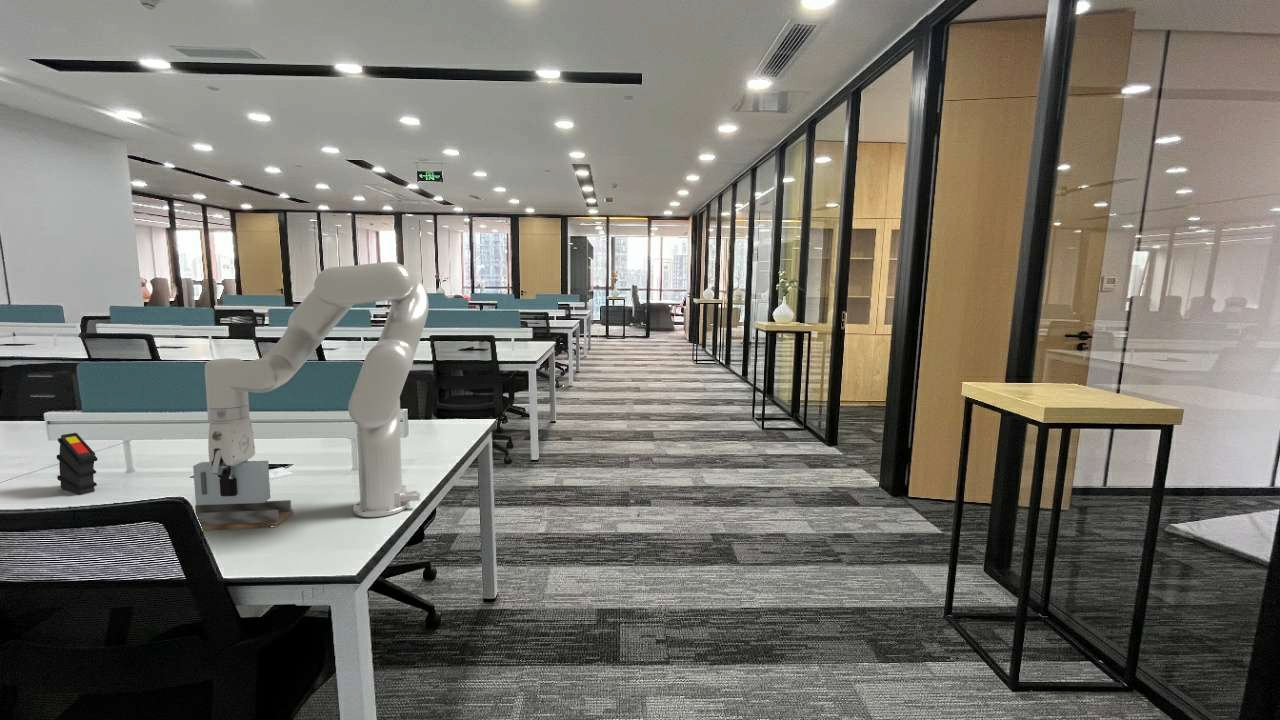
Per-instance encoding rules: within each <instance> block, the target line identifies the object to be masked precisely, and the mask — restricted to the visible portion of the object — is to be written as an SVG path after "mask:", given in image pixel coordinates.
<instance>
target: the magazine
mask: <svg viewBox="0 0 1280 720" xmlns="http://www.w3.org/2000/svg"><path fill="white" fill-rule="evenodd" d="M57 442H58V443H59V454H56V459H57V460H58V461H59V463H58V464H59V467H58V468H59V475H57V476H56V479H57V481H59V482H60V488H61V489H62V490H65V491H67V492H71V493H73V494H76V495H84V494H89V493H93V492H95V487H97V486H98V484H97V483H96V482H95V481H94V477H95V476H94V474H97V470H95V468H94V467H95V465H94V464H95V462H97V461H98V457H97V455H96V453H95V452H94V450H92V448H91V447H90V446H89V445H88V444H87V442H86V441H85V440H84V439H83V438H82V436H81V435H79V434H78V433H77V432H73V433H72V432H70V433H66V434H61V435H60V437H59V438H57Z"/></svg>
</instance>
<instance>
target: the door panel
mask: <svg viewBox="0 0 1280 720" xmlns="http://www.w3.org/2000/svg"><path fill="white" fill-rule="evenodd" d="M223 465H226V464H225V463H223ZM192 469H193V485H194V496H195V497H194V499H195V505H212V504H244V503H264V502H266V501H270V499H271V484H270V483H271V482H270V481H269V470H270V468H269V460H248V461H245V462H243V463H241V464H239V465H237V466H235V467H234V478H236V480H237V495H236V496H221V495H220V480H218V476H217V475H216V474H212V466H211V465H210V462H209V461H201V462H198V463H196V464H194V465H193V466H192ZM223 469H224V470H227V471H228V472H229V468H223Z"/></svg>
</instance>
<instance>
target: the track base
mask: <svg viewBox="0 0 1280 720" xmlns="http://www.w3.org/2000/svg"><path fill="white" fill-rule="evenodd" d="M194 507H195V513H196V515H197V517H198V520H199V522H200V524H201V527H202V529H203V531H220V530H219V529H225V530H243V529H244V530H245V528H247V529H259V528H258V527H268V528H272V527H271V526H274V527H273V528H276V527H275V526H277V525H278V526H279V525H281V524H282V523H283V522H284V521H285V520H287V519H288V518H289V517H291V516H292V515H293V514H292V513H294V512H293V509H292V500H291V499H285V500H284V499H283V500H267V501H266V502H264V503H244V504H212V505H196V504H195V505H194ZM287 517H288V518H287ZM282 521H283V522H282ZM281 522H282V523H281ZM278 526H277V527H278ZM210 529H211V530H210Z"/></svg>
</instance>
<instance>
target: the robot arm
mask: <svg viewBox="0 0 1280 720" xmlns="http://www.w3.org/2000/svg"><path fill="white" fill-rule="evenodd" d="M384 301H385V302H386V301H387V302H388V301H390V308H389V309H390V310H389V312H388V315H387V317H386V318H385V319H386V320H385V323H384V326H383V329H382V331H381V334H380V336H379V339H378V341H377V343H376V344H375V345H373V347H372V348H370V350H369V351H368V352H367V354H366V355H365V358H364V361H363V363H362V367H360V368H361V369H360V371H359V374H358V377H357V380H356V382H355V385H354V388H353V390H352V393H351V395H350V399H349V402H348V407H347V408H348V414H349V417H350V418H351V420H352V421H353V422H354V424H356V442H357V443H356V447H357V464H358V465H357V467H358V484H359V485H358V487H359V488H358V489H359V501H357V502H356V503H355V504H354V505H353V507H352V511H353V513H354V514H355V515H356V516H358V517H363V518H380V517H386V516H390V515H395V514H398V513H400V512H403V511H404V510H406V509H407V508H408V507H409V506H410V502H420V501H421V493H420V492H419V491H418V490H411V491H409V490H408V489H407V485H403V474H402V450H401V444H402V443H401V399H400V398H401V397H400V396H401V395H402V392H403V389H404V386H405V383H406V381H407V378H408V375H409V373H410V371H411V370H412V367H413V363H414V358H415V355H416V352H417V348H418V346H419V343H420V340H421V337H422V334H423V331H424V328H425V325H426V322H427V320H428V315H429V308H430V307H429V306H430V305H429V297H428V293H427V289H426V288H425V286H424V284H423V281H421V280H420V279H419V277H418V276H417V275H416V274H415V273H414V272H413V270H411V269H410V268H408V267H407V266H406V265H404V264H401V263H398V262H394V261H383V262H376V263H364V264H357V265H345V266H332V267H328V268H324V269H323V270H321V272H319V273H318V274H317V276H316V277H315V280H314V282H313V289H312V290H311V291H310V292H309V293H308V295H306V297H305V298H304V299H302V301H301V302H300V304H299V305H298V306H296V307H295V309H294V310H293V311H292V312H291V314H290V315H289V317H288V319H287V321H288V323H287V326H286V327H287V328H286V330H285V331H284V333H283V335H282V336H281V337H280V339H278V341H277V343H275V345H274V346H273V347H272V348H270V350H269V351H268V352H267V353H266V354H265V355H264V356H262V357H259V358H256V359H252V360H244V359H240V358H227V357H226V358H217V359H211V360H208V361H206V363H205V365H204V379H205V380H204V382H205V390H206V391H205V392H206V393H205V395H206V407H207V409H206V410H207V411H206V412H207V423H209V427H208V441H207V443H208V446H207V447H208V448H207V449H208V462H210V465H211V466H212V474H216V475H217V476H218V480H220V495H221V496H236V495H237V480H236V478H234V467H235V466H237V465H239V464H241V463H243V462H245V461H249V460H250V459H251V458H253V457H254V456H255V454H256V448H255V447H256V446H255V437H254V431H253V425H252V422H251V418H250V403H249V393H256V394H257V393H258V394H259V393H261V394H262V393H268V392H271V391H274V390H276V389H277V388H279V387H281V386H283V385H285V384H286V383H287V382H288V381H290V379H291V380H292V378H293V376H294V375H295V374H296V373H297V372H298V371H299V370H300V369H301V368H302V366H304V364H305V363H306V361H308V359H309V358H310V357H311V356H312V355H313V353H314V352H315V351H316V349H317V348H318V347H319V346H320V345H321V344H322V343H323V341H324V339H325V338H326V337H327V336H328V335H329V334H330V333H331V331H332V330H333V329H334V328H335V327H336V326H337V324H338V323H339V322H340V321H342V319H343V318H344V316H345V315H346V314H347V313H348V312H349V310H351V308H352V307H353V306H354V305H360V304H370V303H376V302H384ZM223 463H225V464H226V465H223ZM223 468H229V472H228V471H227V470H224V469H223Z"/></svg>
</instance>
